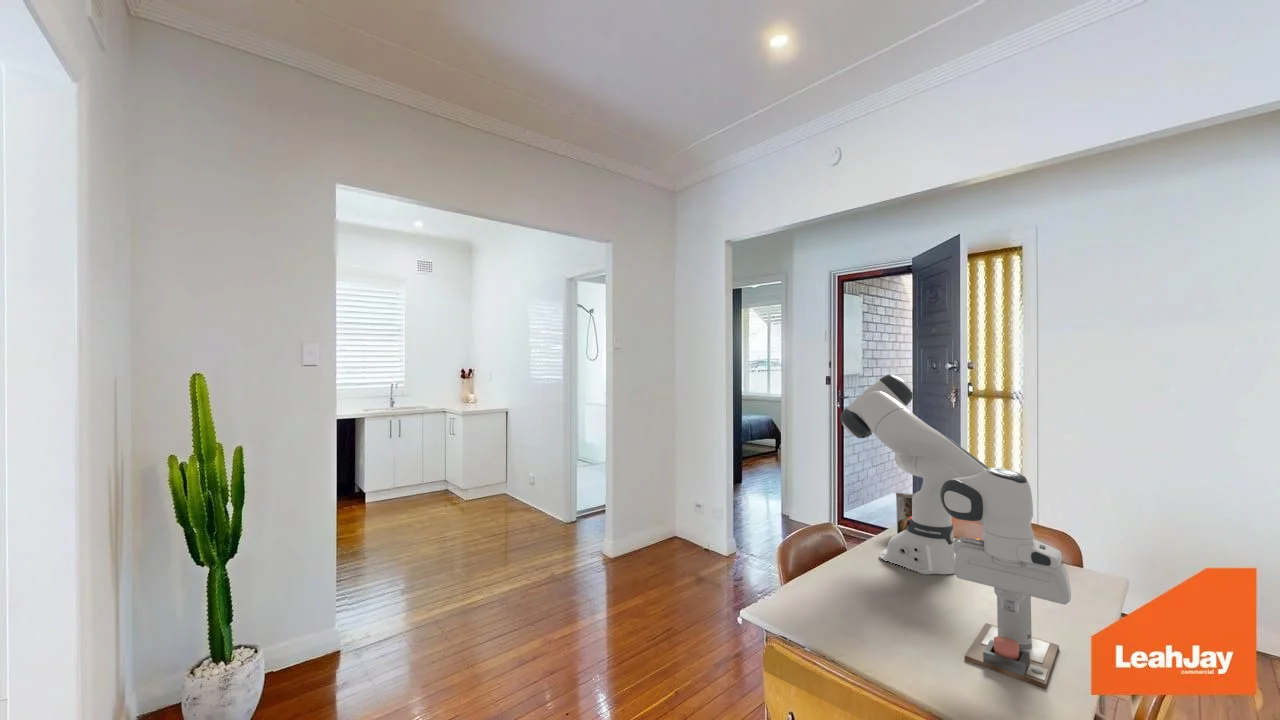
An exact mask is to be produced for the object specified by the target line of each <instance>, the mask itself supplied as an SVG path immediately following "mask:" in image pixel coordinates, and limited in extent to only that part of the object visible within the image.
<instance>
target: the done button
mask: <svg viewBox="0 0 1280 720" xmlns="http://www.w3.org/2000/svg"><path fill="white" fill-rule="evenodd" d="M994 653H995V654H998V655H1001V656H1004V657H1007V658H1010V659H1013V660H1016V661H1019V644H1018V643H1017V642H1016V641H1014V640H1012V639H1010V638H1007V637H1002V636H997V637H994Z"/></svg>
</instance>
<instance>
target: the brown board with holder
mask: <svg viewBox="0 0 1280 720" xmlns="http://www.w3.org/2000/svg"><path fill="white" fill-rule="evenodd" d="M997 636H998V625H994V624H992V623H987V622H985V623H984V625H983V626H982V628H981V629H980V631H979V633H978V634H977V635H976V637H975V639H974V640H973V642H972V643H971V644H970V646H969V648H968V649H967V651H966V652H965V654H964V661H965V662H970V663H972V664H975V665H978V666H980V667H984V668H986V669H988V668H989V669H988V670H991V671H994V672H996V673H997V672H998V673H1000V674H1003V675H1006V676H1008V677H1010V678H1014V679H1017V680H1020V681H1022V682H1024V683H1028V684H1030V685H1032V686H1033V685H1034V686H1037V687H1039V686H1040V687H1039V688H1042V689H1044V688H1045V690H1046V689H1047V687H1048V683H1049V681H1050V678H1051V676H1052V672H1053V669H1054V665H1055V662H1056V659H1057V657H1058V653H1059V650H1060V645H1059V644H1057V643H1053V642H1051V641H1046V640H1044V639H1040V638H1037V637H1034V636H1032V639H1031V640H1032V647H1031V648H1029V649H1019V661H1016V660H1013V659H1010V658H1007V657H1004V656H1001V655H998V654H995V653H994V637H997Z"/></svg>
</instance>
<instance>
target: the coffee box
mask: <svg viewBox="0 0 1280 720" xmlns="http://www.w3.org/2000/svg"><path fill="white" fill-rule="evenodd" d="M895 493H896V494H895V497H896V499H895V500H896V501H895V504H896V505H895V507H896V535H897V534H898V533H900V532H902V531H904V530H906V529H907V528H906V526H905V522H906V521H907V520H908V518H909V517H911V516H912V497H913V495H914V494H915V493H903V492H895Z"/></svg>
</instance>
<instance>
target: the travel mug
mask: <svg viewBox="0 0 1280 720" xmlns="http://www.w3.org/2000/svg"><path fill="white" fill-rule="evenodd" d="M1002 593H1003V595H1004V597H1005V598H1006V599H1007V600H1010V601H1014V602H1015V601H1016V600H1017V597H1015V592H1011V591H1007V590H1004V591H1003V592H1002ZM996 604H997V605H996V607H997V608H996V609H997V611H996V613H997V614H996V615H997V617H996V618H997V626H998V636H1002V637H1007V638H1010V639H1012V640H1014V641H1016V642H1017V643H1018V644H1019V649H1029V648H1031V647H1032V640H1031V639H1032V637H1033V636H1032V635H1033V634H1032V632H1033V630H1032V597H1031V596H1027V595H1025V597H1024V599H1023V600H1022V602H1021V603H1020V604H1019V612H1018V613H1015V612H1011V611H1008V610H1004V609H1001V601H1000V600H999V598H998V597H997V596H996Z"/></svg>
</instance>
